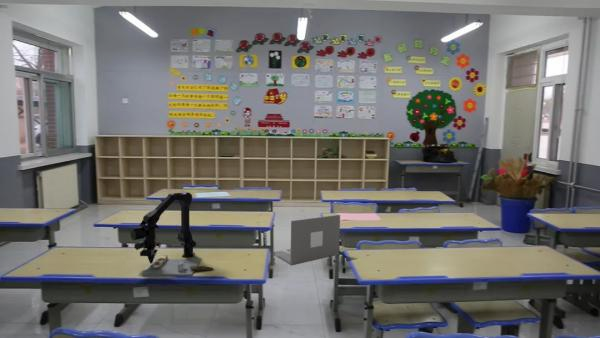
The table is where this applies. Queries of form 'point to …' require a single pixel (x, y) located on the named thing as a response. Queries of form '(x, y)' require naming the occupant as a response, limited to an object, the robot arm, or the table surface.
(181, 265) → the keeper
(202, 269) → the stone
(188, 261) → the pivot board
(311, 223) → the laptop
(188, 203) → the robot arm
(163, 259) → the link
